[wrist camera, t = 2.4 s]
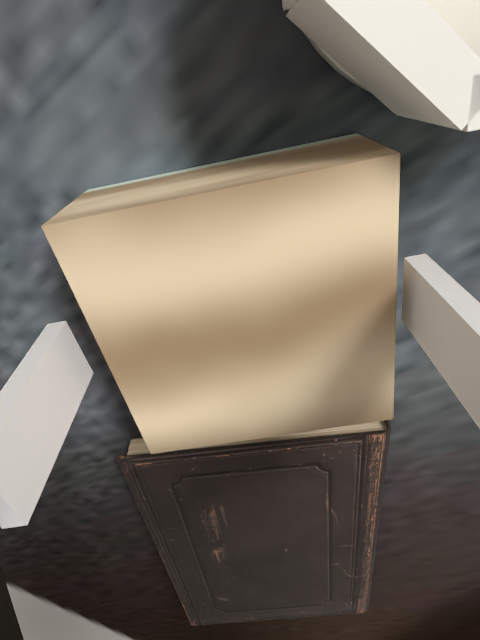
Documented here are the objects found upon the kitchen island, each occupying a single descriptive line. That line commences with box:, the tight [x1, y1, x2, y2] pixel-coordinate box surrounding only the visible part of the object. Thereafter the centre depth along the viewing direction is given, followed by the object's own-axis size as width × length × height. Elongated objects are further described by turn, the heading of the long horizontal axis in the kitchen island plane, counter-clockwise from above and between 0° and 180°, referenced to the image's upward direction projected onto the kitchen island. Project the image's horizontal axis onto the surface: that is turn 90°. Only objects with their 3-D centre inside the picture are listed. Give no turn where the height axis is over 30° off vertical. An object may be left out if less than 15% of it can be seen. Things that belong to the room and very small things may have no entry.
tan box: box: [41, 135, 400, 454], centre depth 16 cm, size 11×11×4 cm
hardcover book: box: [117, 420, 391, 626], centre depth 29 cm, size 16×23×2 cm
